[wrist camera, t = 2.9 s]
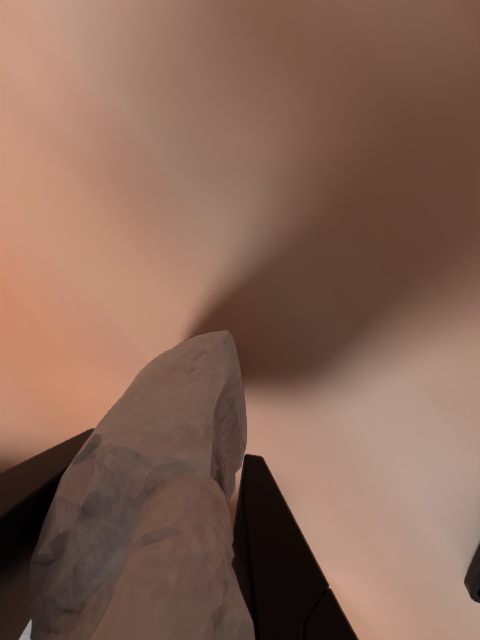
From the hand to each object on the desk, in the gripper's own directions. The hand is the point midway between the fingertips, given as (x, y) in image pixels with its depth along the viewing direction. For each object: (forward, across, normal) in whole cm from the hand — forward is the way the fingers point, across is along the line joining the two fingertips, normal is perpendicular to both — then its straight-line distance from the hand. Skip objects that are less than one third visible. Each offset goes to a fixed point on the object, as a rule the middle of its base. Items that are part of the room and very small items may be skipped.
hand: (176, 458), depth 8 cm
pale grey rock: (+4, 0, 0) cm, 4 cm away
